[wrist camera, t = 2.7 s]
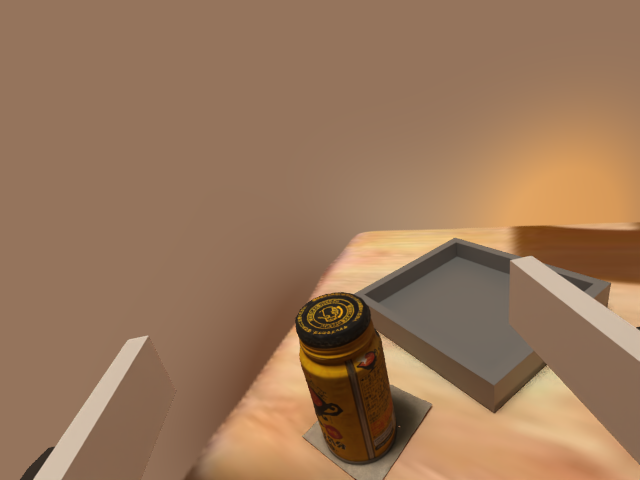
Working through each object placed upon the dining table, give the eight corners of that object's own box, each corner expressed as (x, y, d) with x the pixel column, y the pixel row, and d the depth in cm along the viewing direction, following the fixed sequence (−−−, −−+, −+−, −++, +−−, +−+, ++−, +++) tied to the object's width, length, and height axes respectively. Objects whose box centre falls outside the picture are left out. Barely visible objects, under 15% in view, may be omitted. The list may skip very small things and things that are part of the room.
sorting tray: (456, 256, 49) (454, 237, 48) (607, 308, 35) (610, 282, 33) (356, 315, 42) (352, 295, 41) (494, 413, 27) (494, 385, 26)
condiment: (302, 438, 29) (263, 323, 24) (363, 371, 34) (340, 265, 29) (373, 495, 24) (342, 365, 19) (432, 406, 29) (419, 286, 24)
